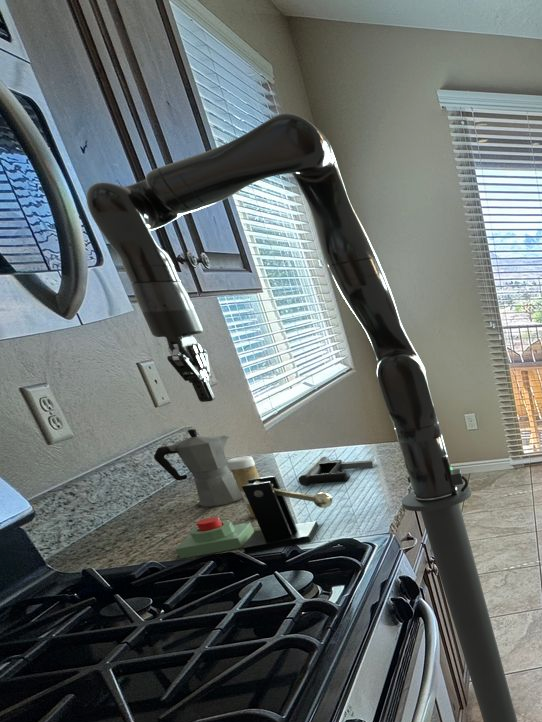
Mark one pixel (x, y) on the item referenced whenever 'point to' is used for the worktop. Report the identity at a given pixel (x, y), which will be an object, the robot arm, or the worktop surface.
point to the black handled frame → (330, 471)
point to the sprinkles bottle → (243, 474)
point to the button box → (215, 539)
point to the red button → (209, 524)
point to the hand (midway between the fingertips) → (208, 400)
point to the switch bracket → (273, 518)
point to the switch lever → (306, 497)
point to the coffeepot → (203, 467)
